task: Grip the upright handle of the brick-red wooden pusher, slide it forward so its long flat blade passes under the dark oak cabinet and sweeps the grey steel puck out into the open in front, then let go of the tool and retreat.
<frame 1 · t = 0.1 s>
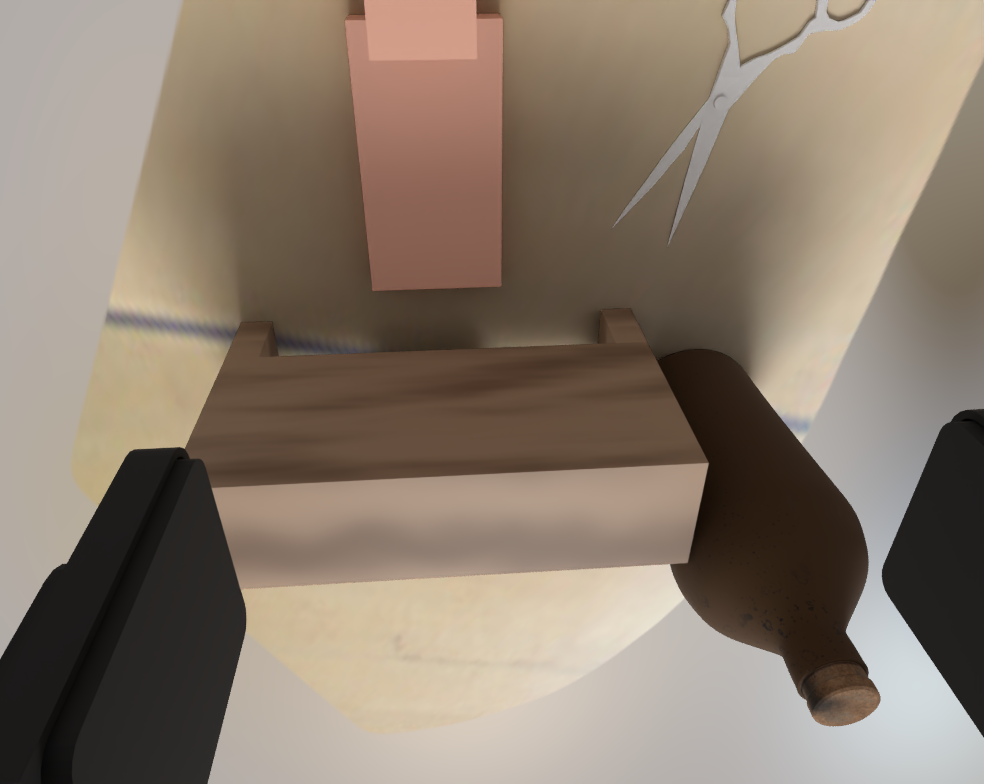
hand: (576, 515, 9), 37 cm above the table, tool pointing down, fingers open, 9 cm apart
olive oil: (684, 400, 54), on the table
scissors: (719, 86, 42), on the table
cabinet: (440, 360, 51), on the table
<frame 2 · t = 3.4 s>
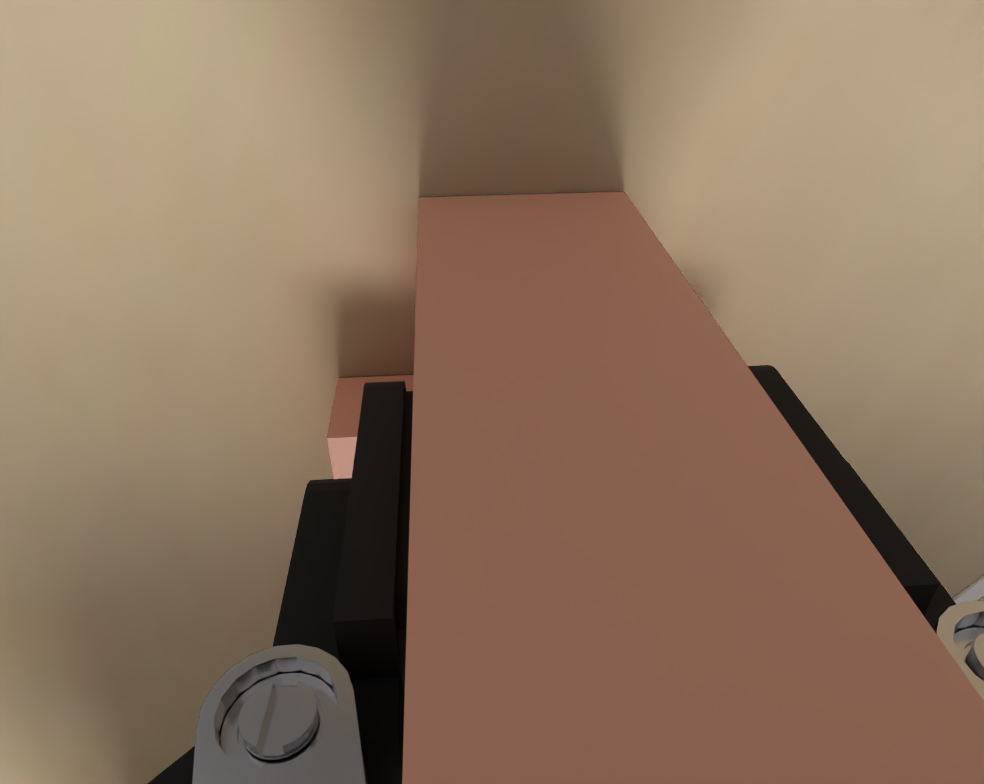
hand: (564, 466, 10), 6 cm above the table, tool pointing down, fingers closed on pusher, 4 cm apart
pusher: (520, 288, 15), on the table, touching gripper
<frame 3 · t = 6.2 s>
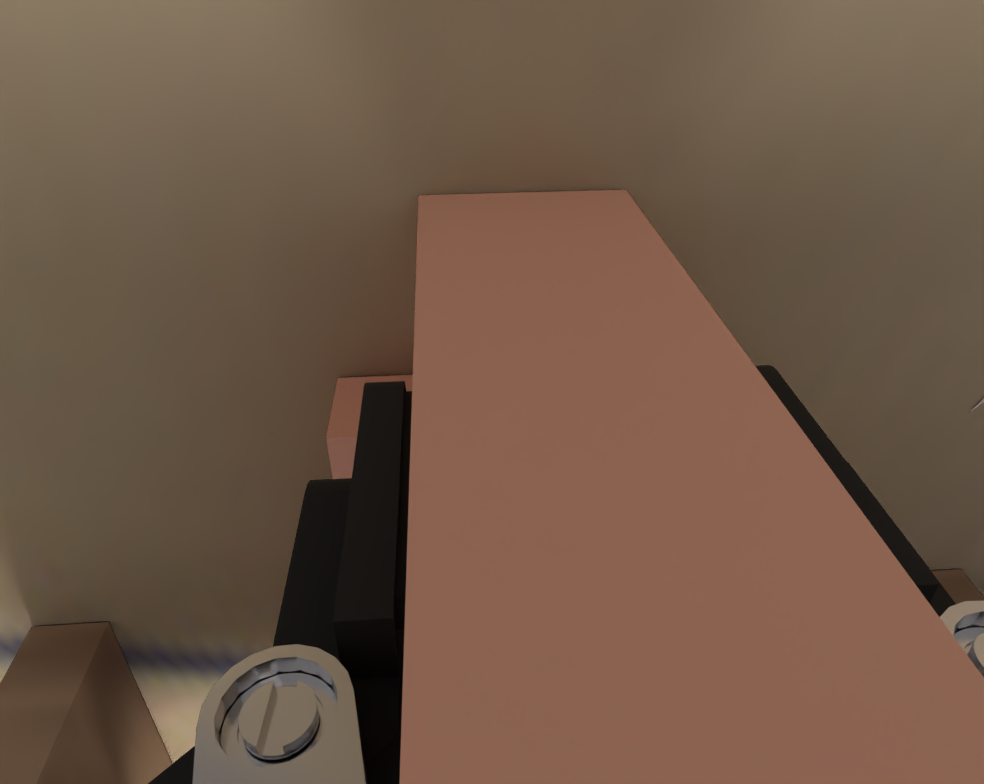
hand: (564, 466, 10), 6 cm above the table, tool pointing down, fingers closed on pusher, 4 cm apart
cabinet: (513, 674, 22), on the table
pusher: (521, 287, 15), on the table, touching gripper
when the fingers open (6 cm above the table, at t = 9.7 s): pusher stays where it is, on the table.
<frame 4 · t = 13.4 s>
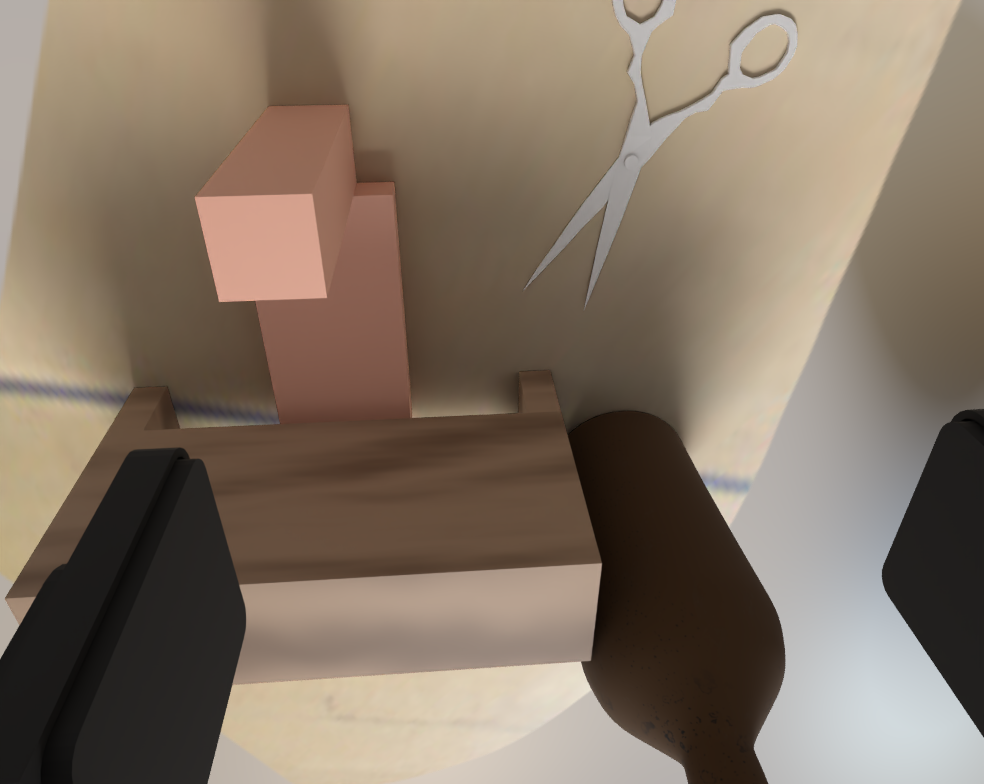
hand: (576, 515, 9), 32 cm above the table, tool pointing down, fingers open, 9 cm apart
olive oil: (614, 461, 51), on the table
scissors: (630, 143, 40), on the table
cabinet: (351, 423, 48), on the table
pusher: (314, 145, 38), on the table
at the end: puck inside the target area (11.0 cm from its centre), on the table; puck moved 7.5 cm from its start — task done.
